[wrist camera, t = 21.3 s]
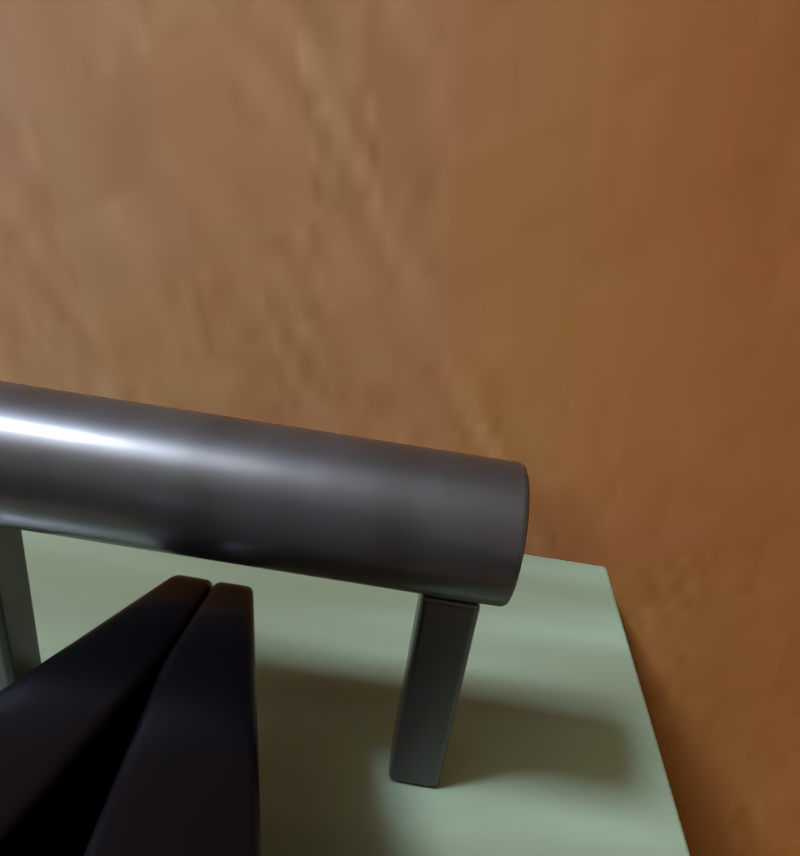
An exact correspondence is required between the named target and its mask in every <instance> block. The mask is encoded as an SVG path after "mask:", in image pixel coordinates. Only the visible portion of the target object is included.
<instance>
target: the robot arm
mask: <svg viewBox="0 0 800 856" xmlns="http://www.w3.org/2000/svg"><path fill="white" fill-rule="evenodd" d="M0 856H262V852H261V820H260V788H259V755H258V723H257V691H256V658H255V626H254V595H253V590H252V588H251V587H249V586H244V585H238V584H232V583H226V582H218V583H216V584H214V586H213V583H212V582H211V581H209V580H207V579H202V578H196V577H190V576H185V575H175V576H173V577H170V578H169V579H167V580H166V581H164V582H163V583H161V584H160V585H158V586H157V587H155V588H154V589H152V590H151V591H149V592H148V593H146V594H145V595H143V596H142V597H140V598H139V599H137V600H136V601H134V602H133V603H131V604H130V605H128V606H127V607H125V608H124V609H122V610H121V611H119V612H118V613H116V614H115V615H113V616H112V617H110V618H109V619H107V620H106V621H104V622H103V623H101V624H100V625H98V626H97V627H95V628H94V629H92V630H91V631H89V632H88V633H86V634H85V635H83V636H82V637H80V638H79V639H77V640H76V641H74V642H73V643H71V644H70V645H68V646H67V647H65V648H64V649H62V650H61V651H59V652H58V653H56V654H55V655H53V656H52V657H50V658H49V659H47V660H46V661H44V662H43V663H41V664H40V665H38V666H37V667H35V668H34V669H32V670H31V671H29V672H28V673H26V674H25V675H23V676H22V677H20V678H19V679H17V680H16V681H14V682H13V683H11V684H10V685H8V686H7V687H5V688H4V689H2V690H1V691H0Z"/></svg>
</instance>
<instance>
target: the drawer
mask: <svg viewBox="0 0 800 856" xmlns="http://www.w3.org/2000/svg"><path fill="white" fill-rule="evenodd" d="M529 499H530V493H529V479H528V474H527V470H526V467H525V466H524V465H523V464H521V463H519V462H514V461H508V460H501V459H495V458H489V457H482V456H476V455H469V454H463V453H457V452H450V451H444V450H437V449H431V448H425V447H418V446H412V445H405V444H399V443H393V442H386V441H380V440H373V439H367V438H361V437H354V436H348V435H341V434H335V433H329V432H322V431H316V430H309V429H303V428H297V427H290V426H284V425H278V424H271V423H265V422H258V421H252V420H246V419H239V418H233V417H226V416H220V415H214V414H207V413H201V412H194V411H188V410H182V409H175V408H169V407H162V406H156V405H150V404H143V403H137V402H130V401H124V400H118V399H111V398H105V397H98V396H92V395H86V394H79V393H73V392H66V391H60V390H54V389H47V388H41V387H34V386H28V385H22V384H15V383H9V382H2V381H0V691H1V690H2V689H4V688H5V687H7V686H8V685H10V684H11V683H13V682H14V681H16V680H17V679H19V678H20V677H22V676H23V675H25V674H26V673H28V672H29V671H31V670H32V669H34V668H35V667H37V666H38V665H40V664H41V663H43V662H44V661H46V660H47V659H49V658H50V657H52V656H53V655H55V654H56V653H58V652H59V651H61V650H62V649H64V648H65V647H67V646H68V645H70V644H71V643H73V642H74V641H76V640H77V639H79V638H80V637H82V636H83V635H85V634H86V633H88V632H89V631H91V630H92V629H94V628H95V627H97V626H98V625H100V624H101V623H103V622H104V621H106V620H107V619H109V618H110V617H112V616H113V615H115V614H116V613H118V612H119V611H121V610H122V609H124V608H125V607H127V606H128V605H130V604H131V603H133V602H134V601H136V600H137V599H139V598H140V597H142V596H143V595H145V594H146V593H148V592H149V591H151V590H152V589H154V588H155V587H157V586H158V585H160V584H161V583H163V582H164V581H166V580H167V579H169V578H170V577H173V576H175V575H185V576H190V577H196V578H202V579H207V580H209V581H211V582H212V583H213V586H214V584H216V583H218V582H226V583H232V584H238V585H244V586H249V587H251V588H252V590H253V595H254V626H255V658H256V691H257V723H258V755H259V788H260V820H261V852H262V856H690V853H689V849H688V846H687V843H686V839H685V836H684V832H683V829H682V826H681V822H680V819H679V815H678V812H677V808H676V805H675V802H674V798H673V795H672V791H671V788H670V784H669V781H668V778H667V774H666V771H665V767H664V764H663V761H662V757H661V754H660V750H659V747H658V743H657V740H656V737H655V733H654V730H653V726H652V723H651V720H650V716H649V713H648V709H647V706H646V702H645V699H644V696H643V692H642V689H641V685H640V682H639V678H638V675H637V672H636V668H635V665H634V661H633V658H632V655H631V651H630V648H629V644H628V641H627V637H626V634H625V631H624V627H623V624H622V620H621V617H620V614H619V610H618V607H617V603H616V600H615V596H614V593H613V590H612V586H611V583H610V579H609V576H608V572H607V569H606V568H605V567H603V566H597V565H591V564H584V563H578V562H572V561H566V560H559V559H553V558H547V557H540V556H534V555H528V554H524V550H525V544H526V537H527V528H528V518H529Z"/></svg>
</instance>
